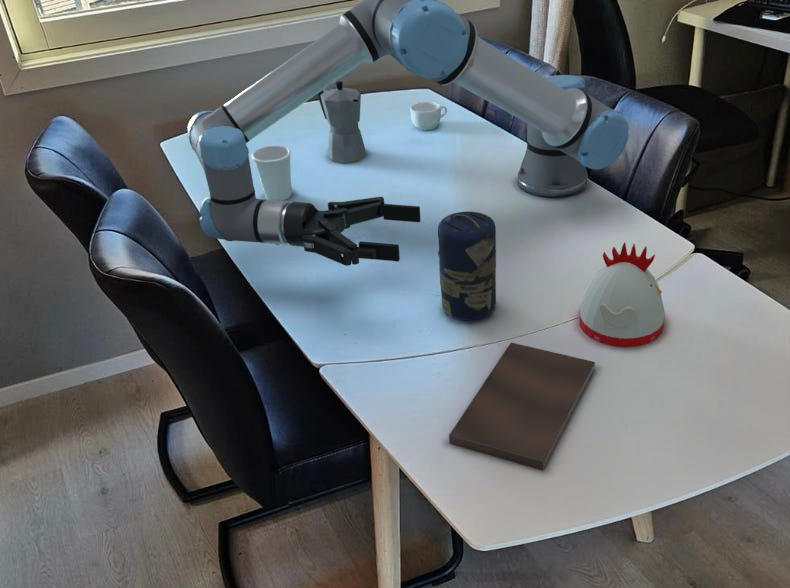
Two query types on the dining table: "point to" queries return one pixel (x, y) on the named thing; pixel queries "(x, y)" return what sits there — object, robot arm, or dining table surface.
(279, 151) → the dixie cup
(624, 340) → the kitchen timer
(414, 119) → the teacup
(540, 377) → the serving board
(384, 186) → the dining table surface
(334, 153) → the coffeepot
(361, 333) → the dining table surface
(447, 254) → the canister
